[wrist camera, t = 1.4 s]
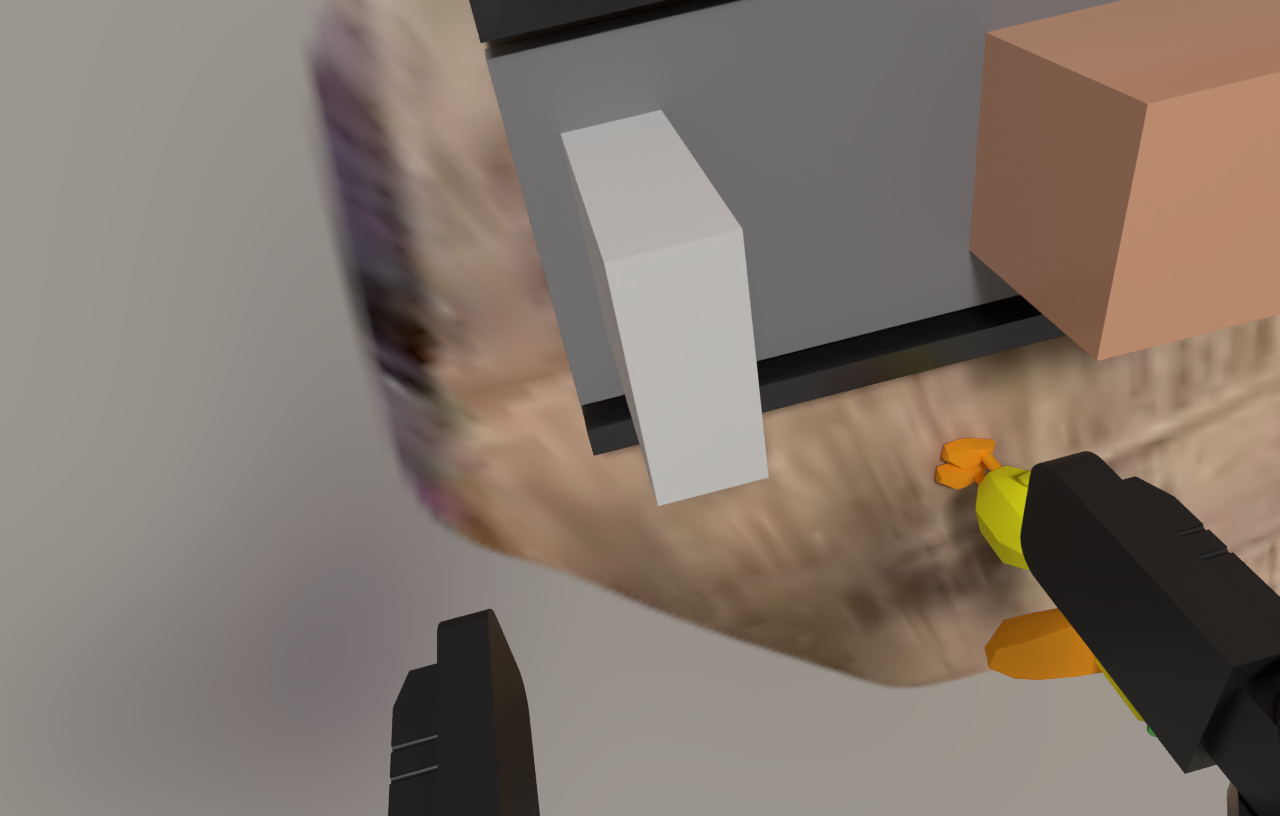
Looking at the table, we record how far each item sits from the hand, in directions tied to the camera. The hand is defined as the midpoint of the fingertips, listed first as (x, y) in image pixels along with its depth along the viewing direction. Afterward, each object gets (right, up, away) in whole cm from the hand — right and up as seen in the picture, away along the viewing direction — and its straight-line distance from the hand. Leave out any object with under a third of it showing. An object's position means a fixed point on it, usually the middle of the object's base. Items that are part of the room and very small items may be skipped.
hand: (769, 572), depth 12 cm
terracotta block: (+10, +10, +10) cm, 18 cm away
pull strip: (+6, +10, +11) cm, 16 cm away
